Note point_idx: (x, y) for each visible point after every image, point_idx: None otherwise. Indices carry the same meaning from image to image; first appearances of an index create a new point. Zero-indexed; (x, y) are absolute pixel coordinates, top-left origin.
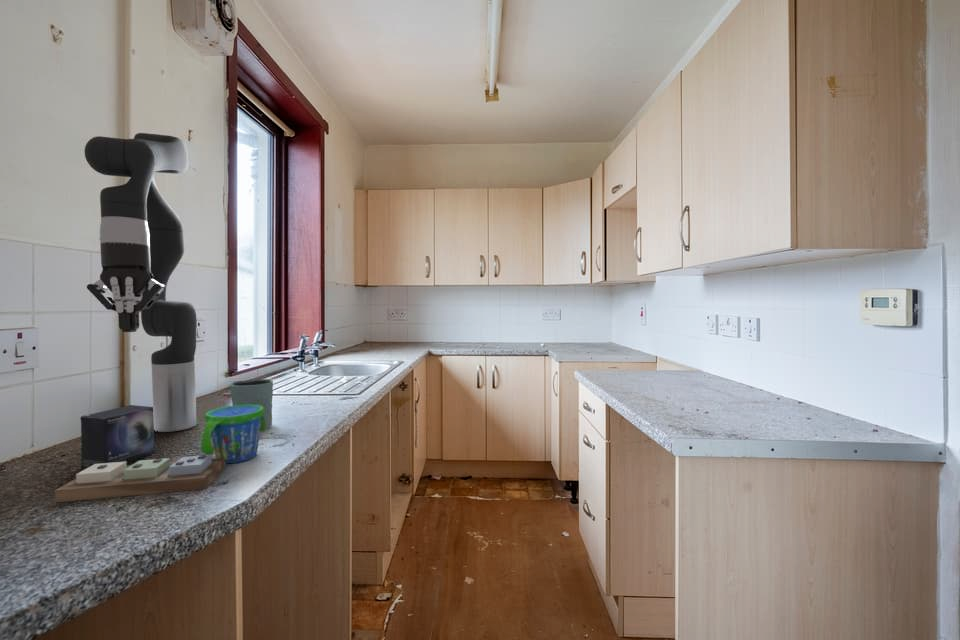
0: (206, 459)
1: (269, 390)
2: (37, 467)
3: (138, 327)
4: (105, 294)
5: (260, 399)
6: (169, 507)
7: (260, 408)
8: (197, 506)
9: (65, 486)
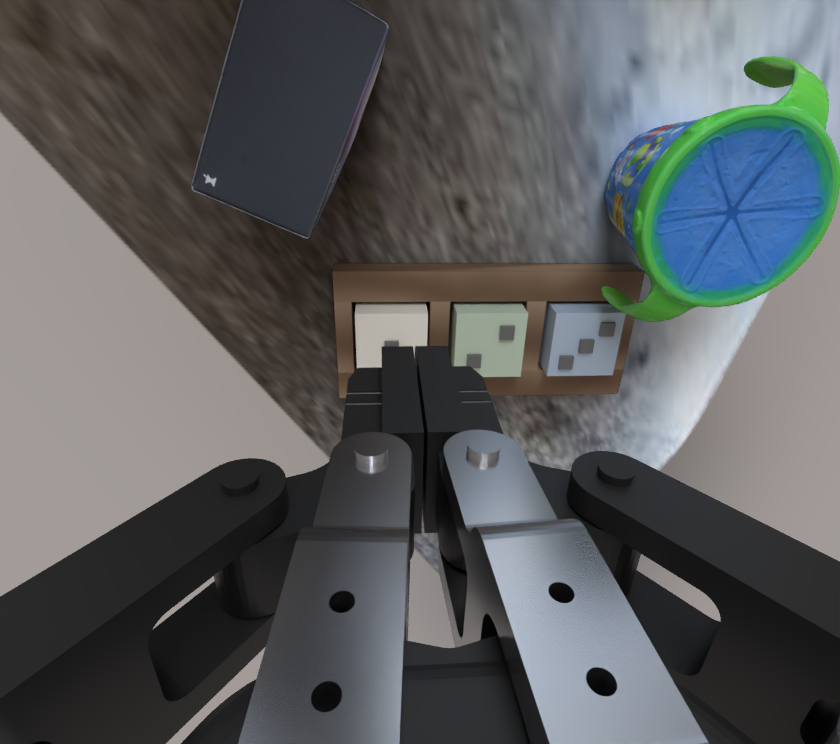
0: (619, 343)
1: None
2: (76, 107)
3: (474, 375)
4: (109, 728)
5: None
6: (563, 445)
7: (828, 201)
8: (608, 451)
9: (347, 382)
